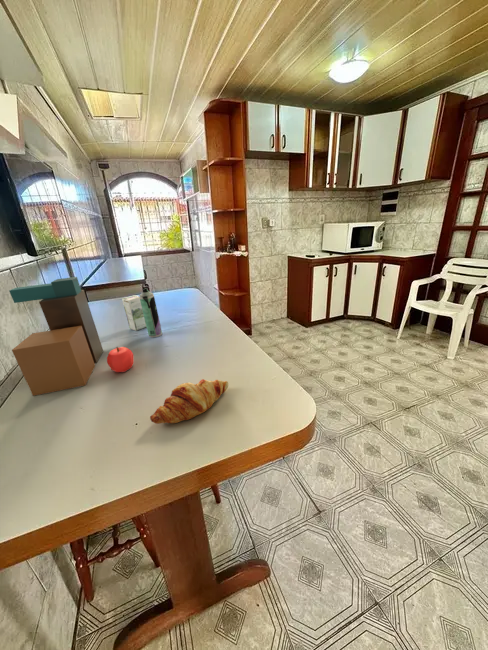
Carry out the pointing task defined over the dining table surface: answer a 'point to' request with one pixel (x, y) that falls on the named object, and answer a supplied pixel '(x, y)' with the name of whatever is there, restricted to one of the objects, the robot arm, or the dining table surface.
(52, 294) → the teal stepped bar
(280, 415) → the dining table surface
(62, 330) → the carton
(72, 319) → the stand
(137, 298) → the syrup box
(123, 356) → the apple
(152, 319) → the spray can
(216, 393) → the croissant
